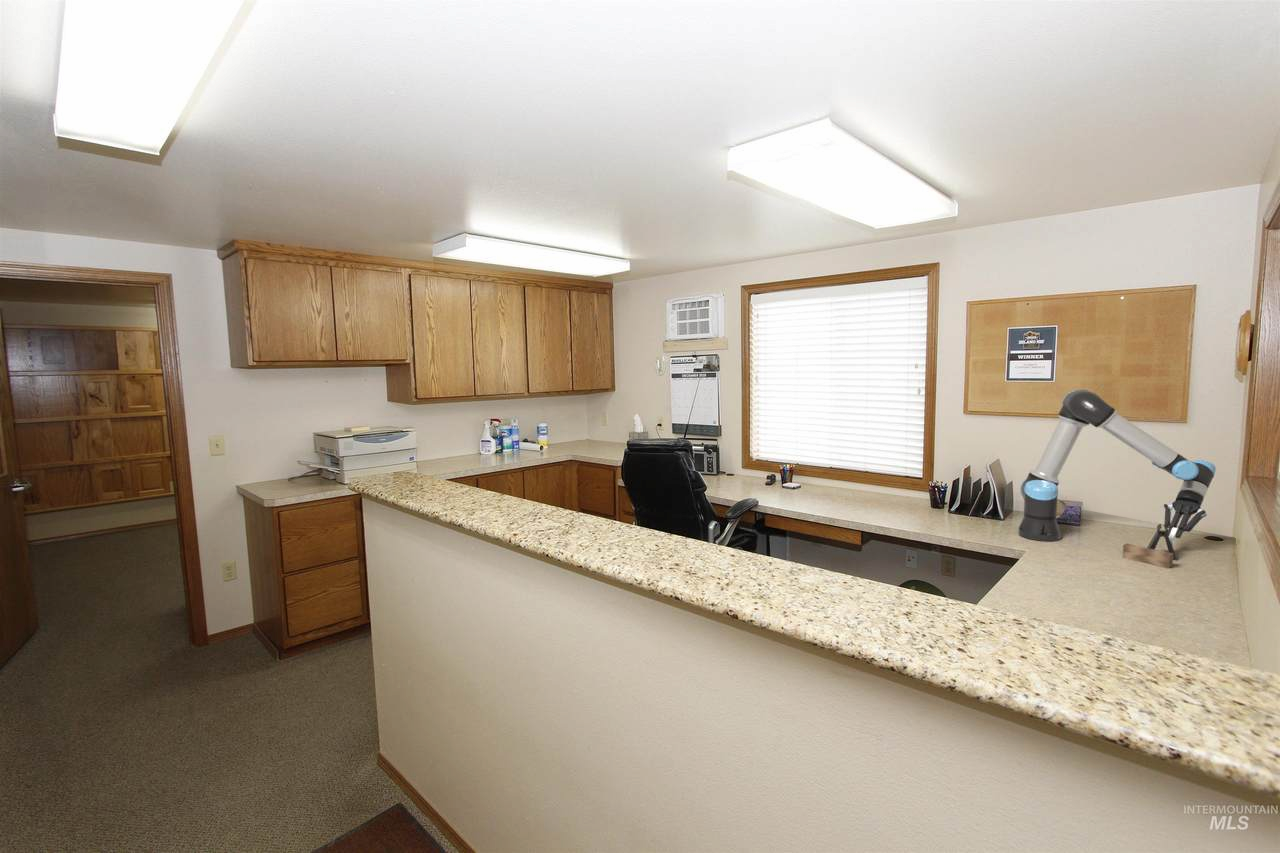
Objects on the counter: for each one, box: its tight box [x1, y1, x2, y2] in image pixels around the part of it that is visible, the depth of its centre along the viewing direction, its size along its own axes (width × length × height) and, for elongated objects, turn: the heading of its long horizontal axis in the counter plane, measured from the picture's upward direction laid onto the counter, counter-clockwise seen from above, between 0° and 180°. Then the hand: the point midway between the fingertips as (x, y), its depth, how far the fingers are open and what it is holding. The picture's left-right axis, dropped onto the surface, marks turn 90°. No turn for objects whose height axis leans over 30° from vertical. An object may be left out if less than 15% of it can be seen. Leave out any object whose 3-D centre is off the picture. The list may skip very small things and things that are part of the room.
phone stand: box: [1146, 523, 1178, 561], centre depth 223 cm, size 9×6×12 cm, turn 50°
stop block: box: [1122, 543, 1174, 569], centre depth 218 cm, size 14×3×5 cm, turn 29°
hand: (1170, 543), depth 226 cm, fingers closed
